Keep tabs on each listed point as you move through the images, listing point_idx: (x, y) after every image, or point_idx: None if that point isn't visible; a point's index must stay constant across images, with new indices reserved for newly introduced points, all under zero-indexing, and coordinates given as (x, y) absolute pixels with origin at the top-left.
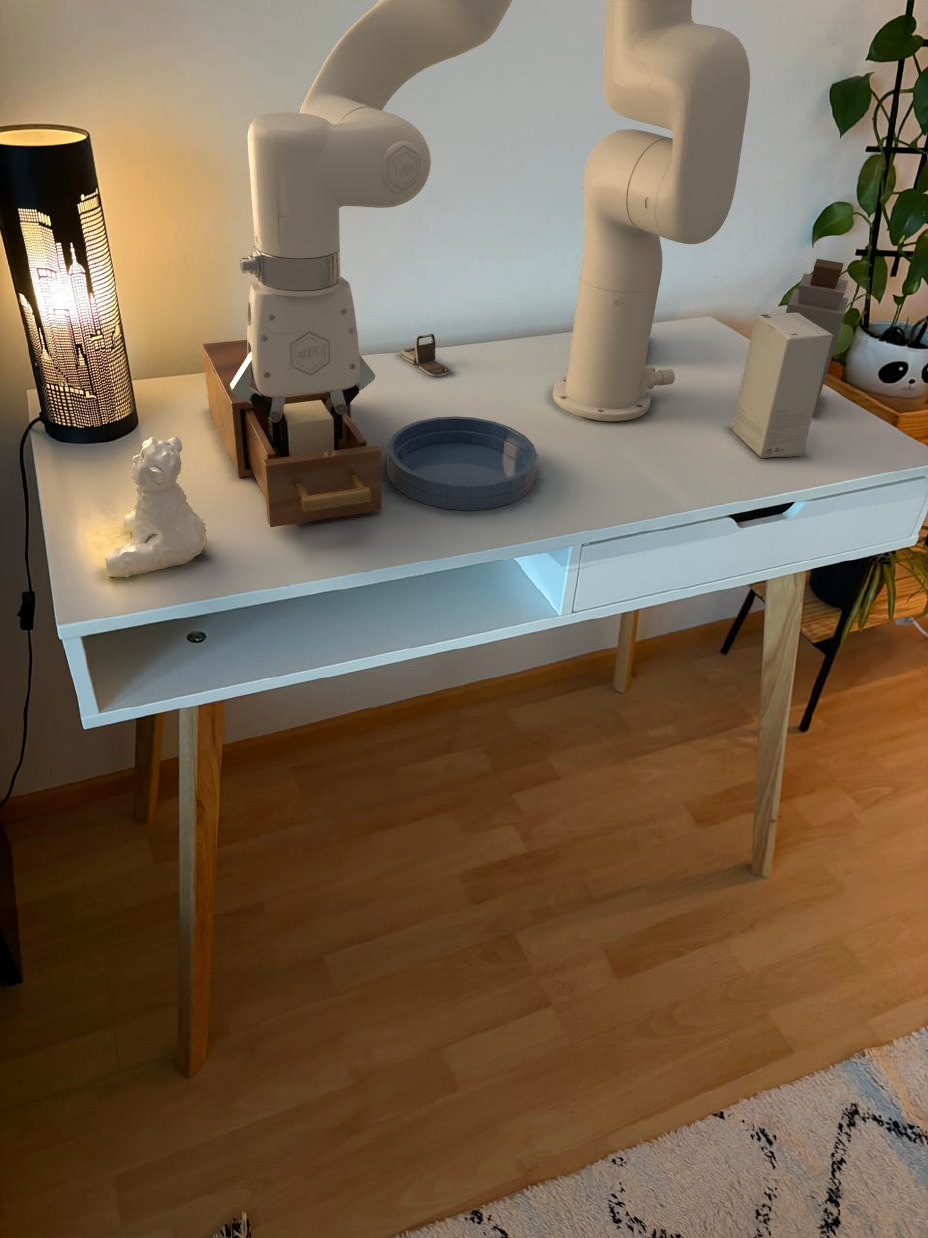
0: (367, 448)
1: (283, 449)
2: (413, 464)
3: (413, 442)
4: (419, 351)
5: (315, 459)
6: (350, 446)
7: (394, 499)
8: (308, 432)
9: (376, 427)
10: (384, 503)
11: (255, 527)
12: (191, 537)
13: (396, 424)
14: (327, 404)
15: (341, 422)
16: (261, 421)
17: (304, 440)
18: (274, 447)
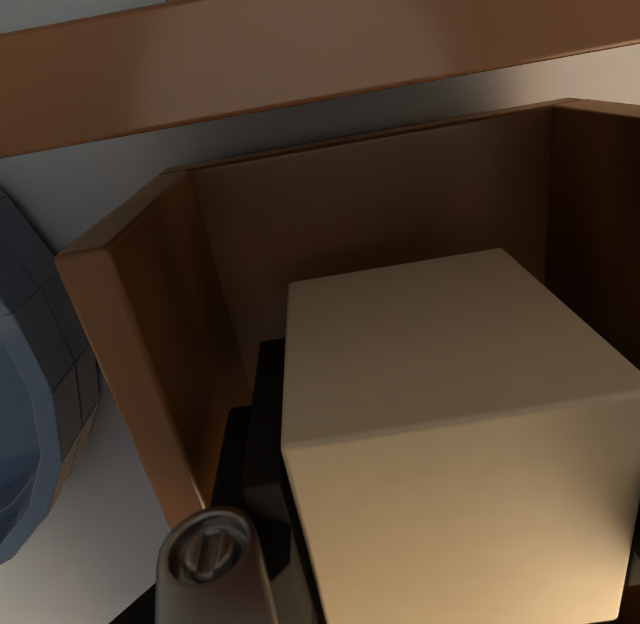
0: (20, 105)
1: (574, 312)
2: (10, 408)
3: (2, 503)
4: None
5: None
6: (197, 359)
7: (69, 203)
8: (468, 357)
9: (141, 591)
10: (107, 178)
11: (618, 58)
12: None
13: (84, 601)
14: (306, 608)
15: (223, 474)
16: None
17: (479, 327)
18: None
